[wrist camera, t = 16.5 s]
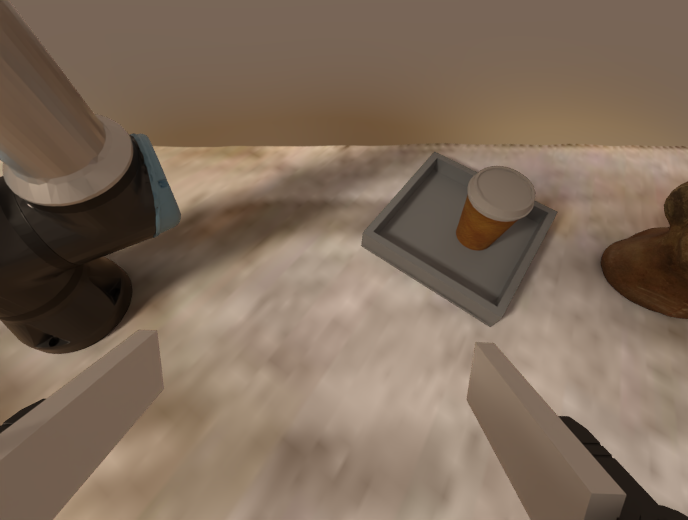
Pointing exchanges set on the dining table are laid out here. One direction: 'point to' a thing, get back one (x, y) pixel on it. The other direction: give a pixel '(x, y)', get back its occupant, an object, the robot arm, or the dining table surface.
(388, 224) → the grey tray
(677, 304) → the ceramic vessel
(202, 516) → the dining table surface
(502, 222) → the disposable coffee cup
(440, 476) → the dining table surface
